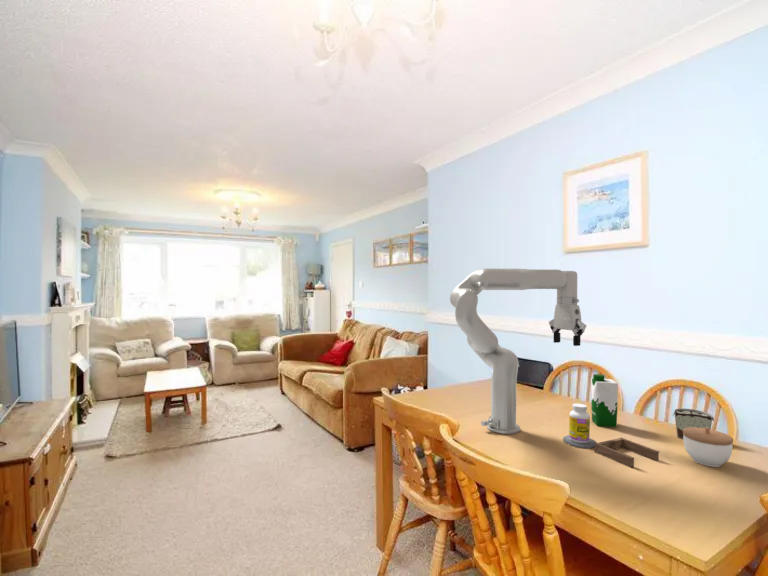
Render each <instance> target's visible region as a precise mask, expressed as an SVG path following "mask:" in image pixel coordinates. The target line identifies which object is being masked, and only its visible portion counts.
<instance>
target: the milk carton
mask: <svg viewBox="0 0 768 576" xmlns="http://www.w3.org/2000/svg"><path fill="white" fill-rule="evenodd" d="M590 380H591V384H590V385H591V421H592V422H593V424H594V425H596V426H597V427H603V428H604V427H605V428H617V427H618V426H617V423H618V422H617V421H618V389H619V388H618V385H619V383H618V382H616V381H615V380H614V379H611V378H605V375H603V374H596V373H595V374H593V377H591V379H590Z"/></svg>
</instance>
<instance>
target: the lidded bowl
mask: <svg viewBox="0 0 768 576" xmlns="http://www.w3.org/2000/svg"><path fill="white" fill-rule="evenodd" d="M682 440H683V446H684V449H685V451H686V453H687V454H688V455H689V457H690V458H692V461H694V462H695V463H697V464H699V465H702V466H706V467H713V468H720V467H722V466H723V464H725V463H727V462H728V461H729V460H730V459H731V456H732V453H733V443H734V438H733V437H732V436H730V435H729V434H727V433H724V432H721V431H718V430H716V429H712V428H711V429H710V428H707V427H705V428H698V427H689V428H684V429H683V439H682Z"/></svg>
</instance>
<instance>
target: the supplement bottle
mask: <svg viewBox="0 0 768 576" xmlns="http://www.w3.org/2000/svg"><path fill="white" fill-rule="evenodd" d="M587 410H588V406H587V405H586V404H584V403H578V402H577V403H573V404H572V410H571V411H569V414H568V415H569V417H568V418H569V420H568V421H569V425H568V426H569V429H568V430H569V431H568V435H569V438H570V440H571V441H573V442H576V443H588V442H589V438H590V435H591V434H590V433H591V432H590V429H591V428H590V427H591V426H590V425H591V424H590V423H591V422H590V421H591V420H590V418H591V417H590V413H588V412H587Z"/></svg>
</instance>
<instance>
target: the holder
mask: <svg viewBox="0 0 768 576" xmlns="http://www.w3.org/2000/svg"><path fill="white" fill-rule="evenodd" d="M619 449H624V450H627V451H629V452H630V453H631V452H632V453H635V454H637V455H639V456H641V457H645V458H647V459H650V460H653V461H655V462H658V461H660V459H659V458H660V455H659V454H660V451H658V450H657V449H654V448H651V447H649V446H645V445H643V444H640V443H637V442H634V441H632V440H630V439H629V440H628V439H626V438H625V437H624V438H623V437H618V438H613V439H609V440H605V441H600V442H597V443H595V448H594V453H595V454H597V455H600V456H602V457H605V458H607V459H610V460H612V461H614V462H616V463H619V464H621V465H623V466H626V467H628V468H630V467H631V468H630V469H632V468H633V469H634V467H635V457H633V456H631V455H629V454H625V453H623V452H621V451H618V450H619Z"/></svg>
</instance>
